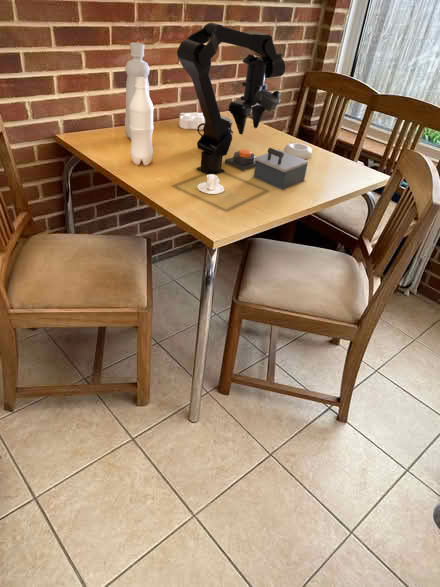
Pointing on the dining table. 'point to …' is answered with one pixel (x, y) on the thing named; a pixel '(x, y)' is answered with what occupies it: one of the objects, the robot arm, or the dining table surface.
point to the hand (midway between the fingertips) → (248, 131)
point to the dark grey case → (279, 175)
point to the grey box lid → (281, 160)
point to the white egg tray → (191, 120)
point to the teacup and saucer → (211, 185)
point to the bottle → (134, 78)
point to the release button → (245, 153)
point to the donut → (298, 150)
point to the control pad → (241, 161)
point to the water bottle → (141, 124)
